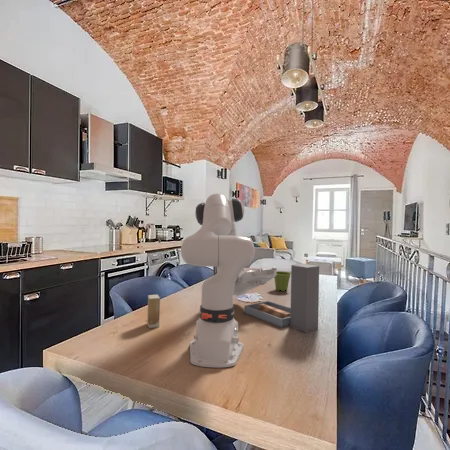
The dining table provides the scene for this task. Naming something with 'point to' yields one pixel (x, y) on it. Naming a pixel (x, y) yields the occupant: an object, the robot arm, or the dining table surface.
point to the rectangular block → (273, 311)
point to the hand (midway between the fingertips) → (268, 269)
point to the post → (304, 297)
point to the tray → (277, 321)
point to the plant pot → (282, 280)
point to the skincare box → (153, 311)
